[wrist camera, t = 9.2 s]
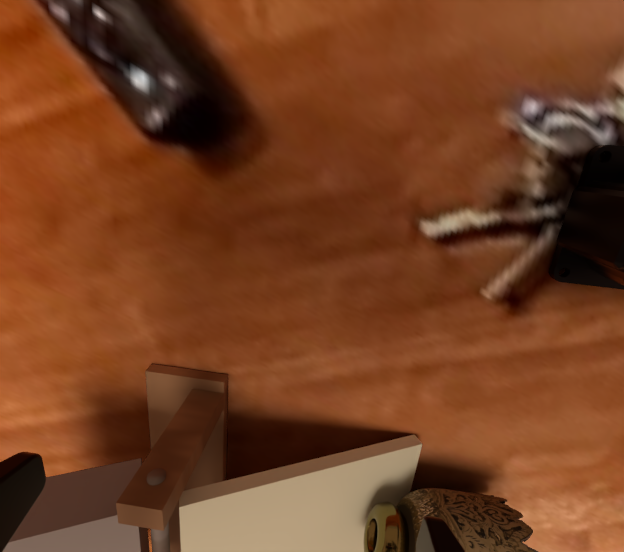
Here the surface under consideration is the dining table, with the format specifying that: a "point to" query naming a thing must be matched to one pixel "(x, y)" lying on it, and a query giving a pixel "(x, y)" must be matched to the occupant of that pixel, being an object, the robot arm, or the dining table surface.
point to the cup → (456, 513)
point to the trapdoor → (230, 506)
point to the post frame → (177, 449)
